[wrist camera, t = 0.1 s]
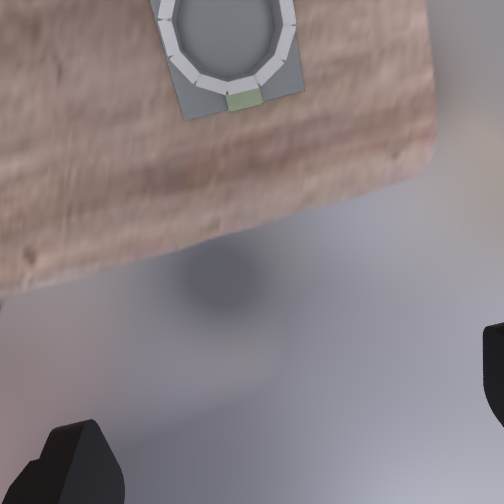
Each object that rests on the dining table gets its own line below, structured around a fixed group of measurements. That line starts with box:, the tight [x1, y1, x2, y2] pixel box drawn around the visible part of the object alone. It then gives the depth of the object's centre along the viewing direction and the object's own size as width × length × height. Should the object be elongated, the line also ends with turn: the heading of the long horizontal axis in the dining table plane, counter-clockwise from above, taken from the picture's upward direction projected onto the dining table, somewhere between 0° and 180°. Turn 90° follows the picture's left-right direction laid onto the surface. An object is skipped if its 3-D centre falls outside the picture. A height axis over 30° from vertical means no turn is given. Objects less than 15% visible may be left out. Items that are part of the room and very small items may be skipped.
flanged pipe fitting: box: [150, 0, 305, 121], centre depth 30 cm, size 11×9×5 cm
